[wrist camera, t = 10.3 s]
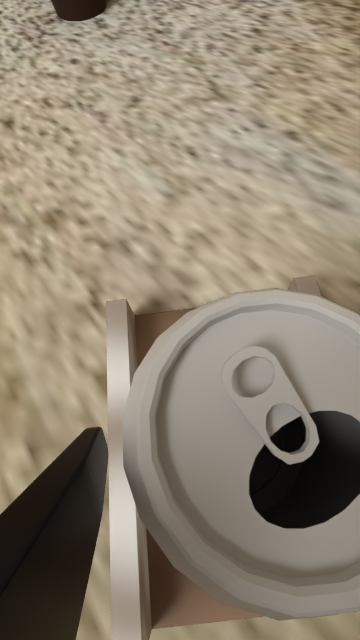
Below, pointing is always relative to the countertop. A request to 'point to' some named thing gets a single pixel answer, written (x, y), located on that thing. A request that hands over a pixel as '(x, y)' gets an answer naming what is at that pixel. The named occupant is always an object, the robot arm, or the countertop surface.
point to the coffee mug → (78, 9)
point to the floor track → (125, 525)
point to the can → (254, 451)
